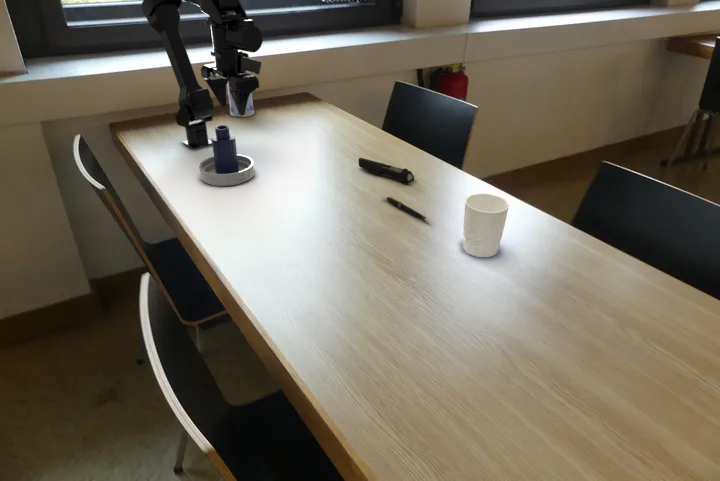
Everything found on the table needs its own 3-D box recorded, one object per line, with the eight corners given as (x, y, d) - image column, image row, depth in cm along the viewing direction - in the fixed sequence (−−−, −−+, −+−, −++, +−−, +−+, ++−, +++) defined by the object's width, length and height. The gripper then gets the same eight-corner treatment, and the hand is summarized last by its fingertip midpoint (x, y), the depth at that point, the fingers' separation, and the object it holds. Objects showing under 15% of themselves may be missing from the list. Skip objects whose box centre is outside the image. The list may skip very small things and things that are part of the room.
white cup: (503, 242, 106) (510, 197, 101) (498, 262, 99) (506, 215, 94) (463, 235, 108) (469, 190, 103) (456, 255, 101) (462, 208, 96)
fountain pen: (432, 223, 112) (432, 217, 111) (428, 225, 111) (428, 219, 111) (387, 199, 122) (388, 193, 121) (383, 200, 121) (384, 194, 120)
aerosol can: (226, 116, 172) (218, 52, 162) (235, 109, 179) (228, 47, 169) (249, 117, 171) (243, 53, 161) (257, 110, 178) (252, 48, 168)
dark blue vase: (217, 170, 134) (210, 124, 128) (239, 169, 134) (234, 123, 128) (215, 179, 129) (208, 131, 123) (238, 178, 130) (233, 130, 124)
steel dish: (191, 174, 132) (189, 162, 131) (237, 161, 140) (236, 150, 138) (216, 191, 124) (215, 179, 122) (264, 177, 131) (263, 165, 130)
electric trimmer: (363, 166, 139) (363, 154, 137) (415, 180, 131) (415, 168, 129) (355, 170, 136) (355, 159, 134) (407, 185, 128) (407, 173, 127)
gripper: (275, 48, 125) (280, 113, 133) (235, 37, 137) (242, 97, 145) (233, 54, 119) (241, 122, 127) (195, 42, 131) (204, 104, 139)
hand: (233, 111), depth 135 cm, fingers open, 9 cm apart
